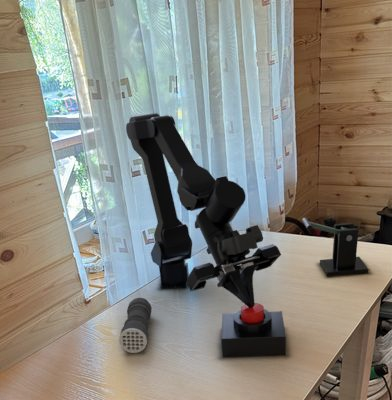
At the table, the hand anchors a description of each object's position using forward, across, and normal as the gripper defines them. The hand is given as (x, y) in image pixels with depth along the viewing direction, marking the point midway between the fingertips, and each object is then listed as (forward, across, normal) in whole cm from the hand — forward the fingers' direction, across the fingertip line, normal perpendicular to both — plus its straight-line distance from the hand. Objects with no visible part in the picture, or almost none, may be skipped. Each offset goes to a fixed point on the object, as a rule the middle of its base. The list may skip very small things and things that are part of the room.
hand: (252, 306), depth 98 cm
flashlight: (-6, -18, +18) cm, 26 cm away
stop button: (+2, 0, +2) cm, 3 cm away
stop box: (+6, 0, +6) cm, 8 cm away
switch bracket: (-6, +38, +17) cm, 42 cm away
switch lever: (-14, +33, +12) cm, 38 cm away
